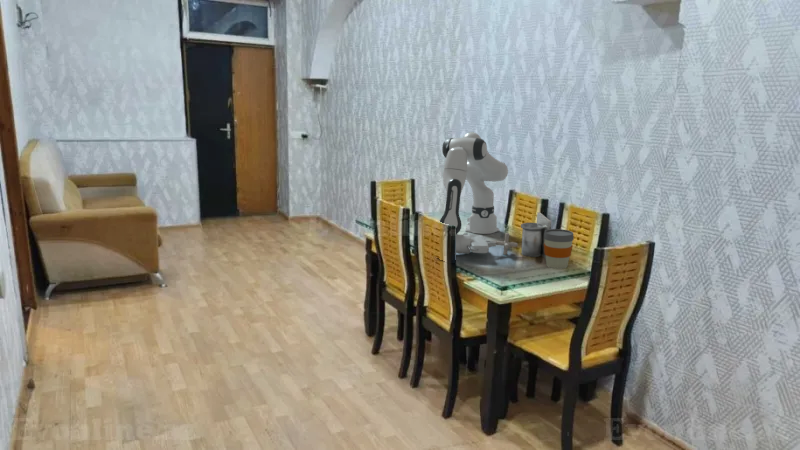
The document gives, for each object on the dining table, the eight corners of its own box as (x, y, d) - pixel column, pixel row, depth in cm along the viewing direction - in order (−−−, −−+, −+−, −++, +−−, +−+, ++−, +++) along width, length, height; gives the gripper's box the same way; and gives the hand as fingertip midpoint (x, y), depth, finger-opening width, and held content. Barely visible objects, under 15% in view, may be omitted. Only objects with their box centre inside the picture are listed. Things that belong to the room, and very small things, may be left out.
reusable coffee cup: (537, 262, 249) (538, 229, 245) (562, 260, 252) (564, 228, 248) (550, 270, 237) (552, 236, 233) (577, 268, 240) (579, 234, 236)
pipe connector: (516, 258, 256) (519, 237, 254) (494, 256, 257) (497, 235, 255) (515, 252, 266) (517, 232, 264) (494, 250, 267) (496, 230, 265)
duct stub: (515, 248, 271) (517, 212, 267) (538, 248, 271) (539, 212, 267) (524, 260, 252) (526, 221, 248) (549, 260, 252) (551, 221, 248)
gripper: (468, 243, 249) (499, 242, 249) (463, 232, 269) (492, 232, 269) (468, 256, 251) (499, 256, 251) (463, 245, 271) (491, 244, 271)
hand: (495, 243), depth 260 cm, fingers closed, pressing on pipe connector
